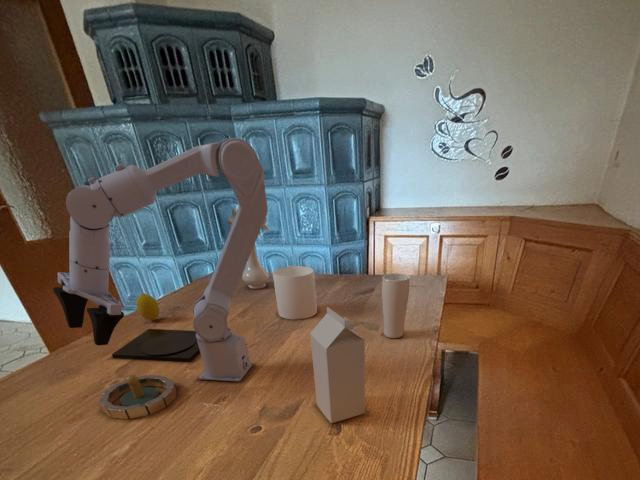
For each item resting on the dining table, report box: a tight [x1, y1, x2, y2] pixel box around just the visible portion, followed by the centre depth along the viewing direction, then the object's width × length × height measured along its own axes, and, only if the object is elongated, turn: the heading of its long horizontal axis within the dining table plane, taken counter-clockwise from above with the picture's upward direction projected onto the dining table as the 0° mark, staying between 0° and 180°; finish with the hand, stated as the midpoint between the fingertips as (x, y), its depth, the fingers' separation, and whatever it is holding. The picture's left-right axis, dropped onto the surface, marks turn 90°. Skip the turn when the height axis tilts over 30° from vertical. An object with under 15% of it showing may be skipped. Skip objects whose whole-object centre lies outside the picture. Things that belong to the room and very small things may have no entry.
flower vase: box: [226, 207, 270, 290], centre depth 130 cm, size 13×18×25 cm
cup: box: [272, 265, 318, 321], centre depth 113 cm, size 12×12×12 cm
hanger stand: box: [119, 374, 160, 407], centre depth 76 cm, size 7×7×6 cm
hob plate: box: [111, 328, 201, 363], centre depth 98 cm, size 20×16×1 cm
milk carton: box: [309, 306, 366, 424], centre depth 68 cm, size 7×7×19 cm
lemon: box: [135, 292, 160, 322], centre depth 110 cm, size 6×6×8 cm
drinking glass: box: [381, 272, 411, 339], centre depth 98 cm, size 7×7×15 cm
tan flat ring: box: [98, 374, 177, 420], centre depth 77 cm, size 13×13×2 cm
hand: (88, 335), depth 73 cm, fingers open, 7 cm apart
